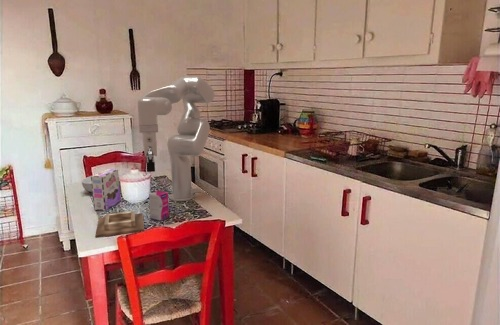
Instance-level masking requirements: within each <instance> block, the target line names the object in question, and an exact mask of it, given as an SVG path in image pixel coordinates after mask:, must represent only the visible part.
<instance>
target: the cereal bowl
mask: <svg viewBox="0 0 500 325" xmlns="http://www.w3.org/2000/svg"><path fill="white" fill-rule="evenodd" d="M91 176H92V175H90V176H87V177H85V178H82V180H81V185H82V188H83V189H84V190H85V191H86V192H90V193H93V192H92V182H91Z"/></svg>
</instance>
